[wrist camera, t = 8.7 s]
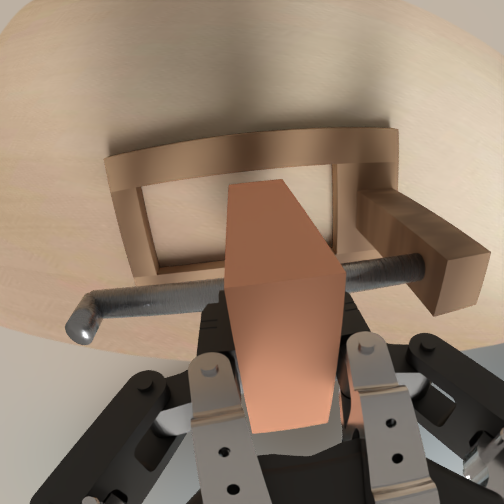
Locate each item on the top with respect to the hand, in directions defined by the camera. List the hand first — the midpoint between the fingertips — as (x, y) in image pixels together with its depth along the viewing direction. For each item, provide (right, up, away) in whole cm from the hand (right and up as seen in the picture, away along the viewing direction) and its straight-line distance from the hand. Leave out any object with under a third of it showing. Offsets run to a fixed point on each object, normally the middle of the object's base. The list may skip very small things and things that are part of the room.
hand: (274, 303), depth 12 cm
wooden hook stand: (0, +5, +10) cm, 11 cm away
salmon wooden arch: (0, +3, +6) cm, 7 cm away
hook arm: (-1, +1, +2) cm, 2 cm away
